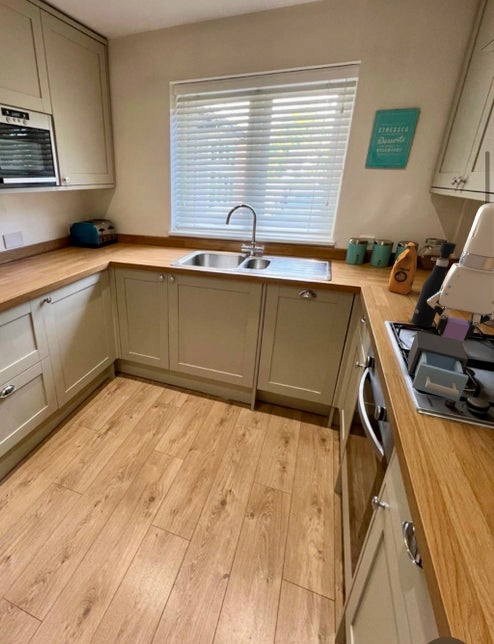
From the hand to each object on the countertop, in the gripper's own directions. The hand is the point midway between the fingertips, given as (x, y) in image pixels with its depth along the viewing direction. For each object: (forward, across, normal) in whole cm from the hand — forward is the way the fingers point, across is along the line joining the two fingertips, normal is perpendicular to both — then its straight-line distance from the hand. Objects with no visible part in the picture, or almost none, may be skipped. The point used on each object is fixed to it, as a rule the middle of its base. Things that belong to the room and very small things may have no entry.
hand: (452, 334), depth 80 cm
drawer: (+14, 0, +2) cm, 15 cm away
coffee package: (+16, +9, -85) cm, 87 cm away
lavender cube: (0, 0, 0) cm, 0 cm away
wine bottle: (+16, +1, -46) cm, 48 cm away
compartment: (+15, 0, -9) cm, 18 cm away
